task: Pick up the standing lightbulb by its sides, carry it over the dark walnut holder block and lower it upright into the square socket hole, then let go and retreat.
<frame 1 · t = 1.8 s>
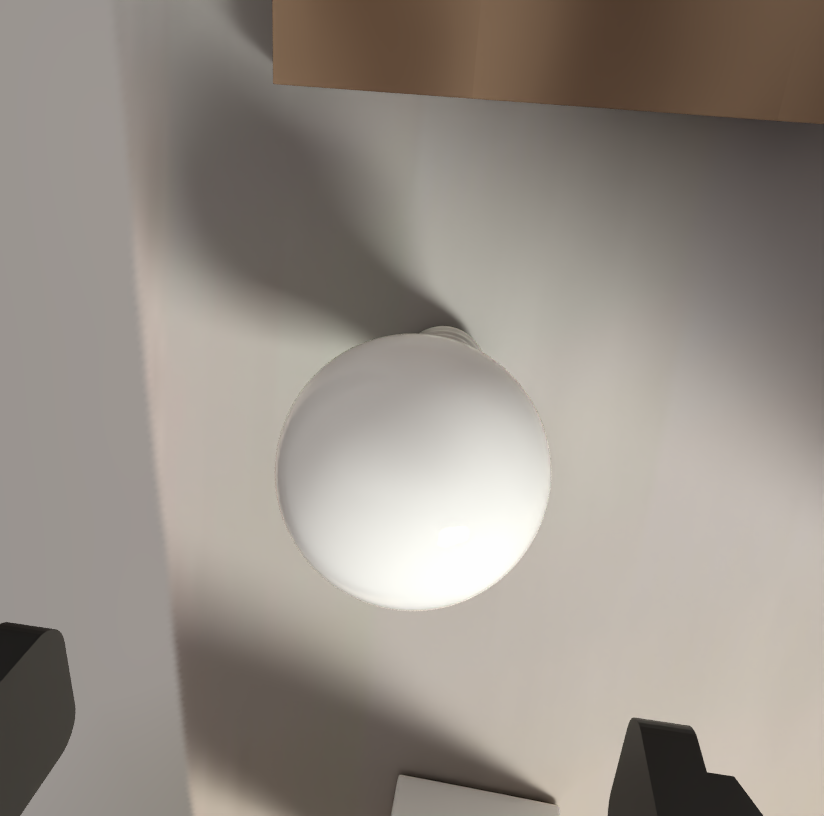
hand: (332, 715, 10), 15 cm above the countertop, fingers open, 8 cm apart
lightbulb: (446, 356, 24), on the countertop
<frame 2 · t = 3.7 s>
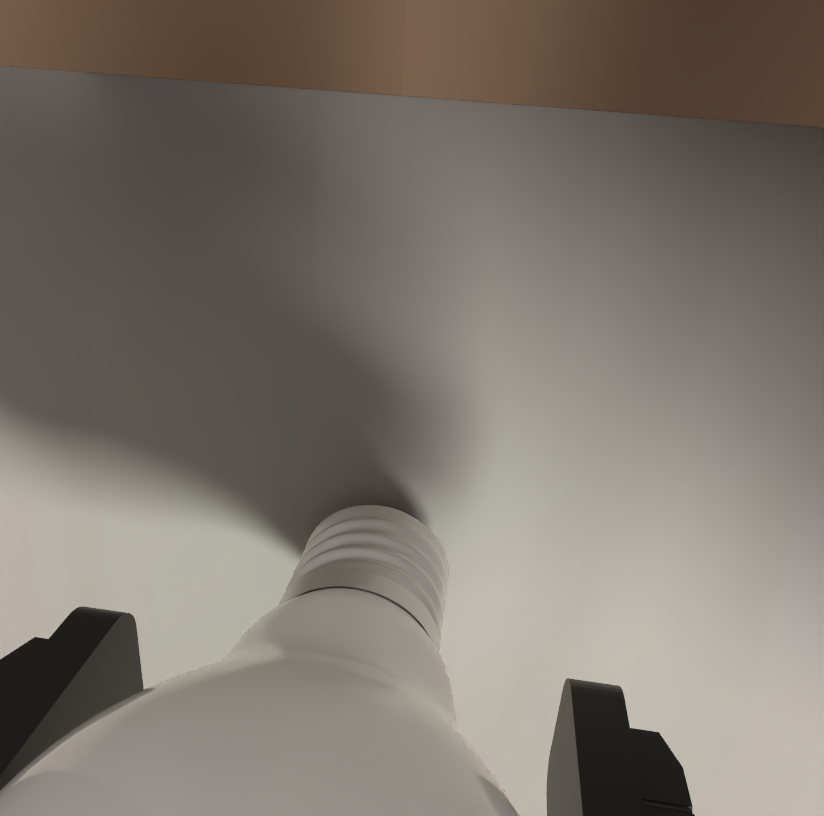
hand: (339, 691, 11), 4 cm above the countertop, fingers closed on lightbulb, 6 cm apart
lightbulb: (383, 540, 14), on the countertop, touching gripper
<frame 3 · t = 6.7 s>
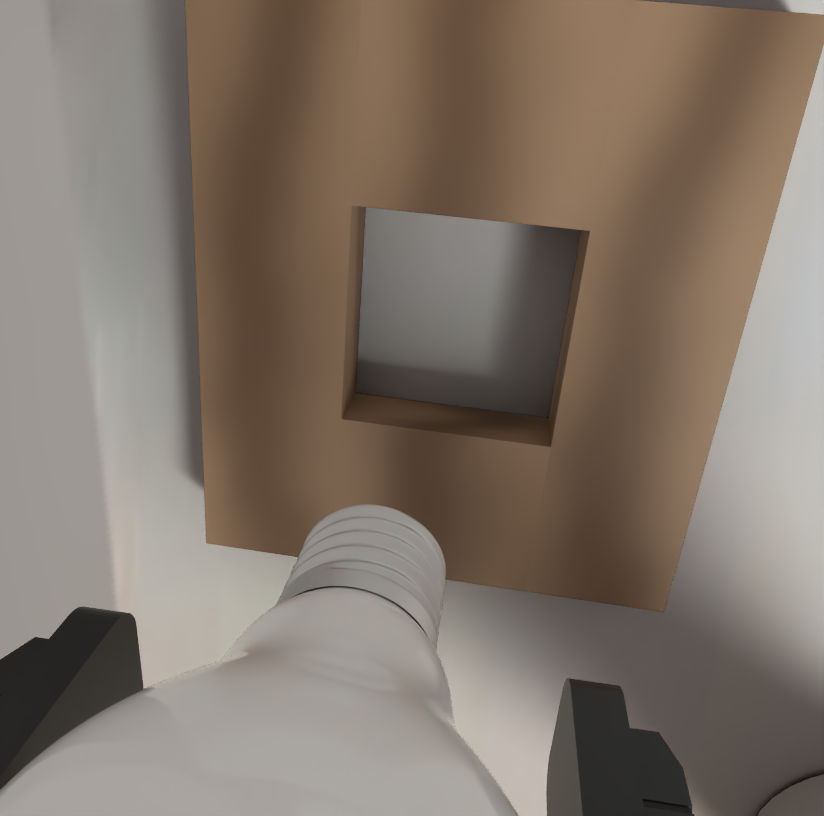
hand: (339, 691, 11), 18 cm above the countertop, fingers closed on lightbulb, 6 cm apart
lightbulb: (381, 540, 14), point 14 cm above the countertop, touching gripper
holder block: (461, 311, 26), on the countertop
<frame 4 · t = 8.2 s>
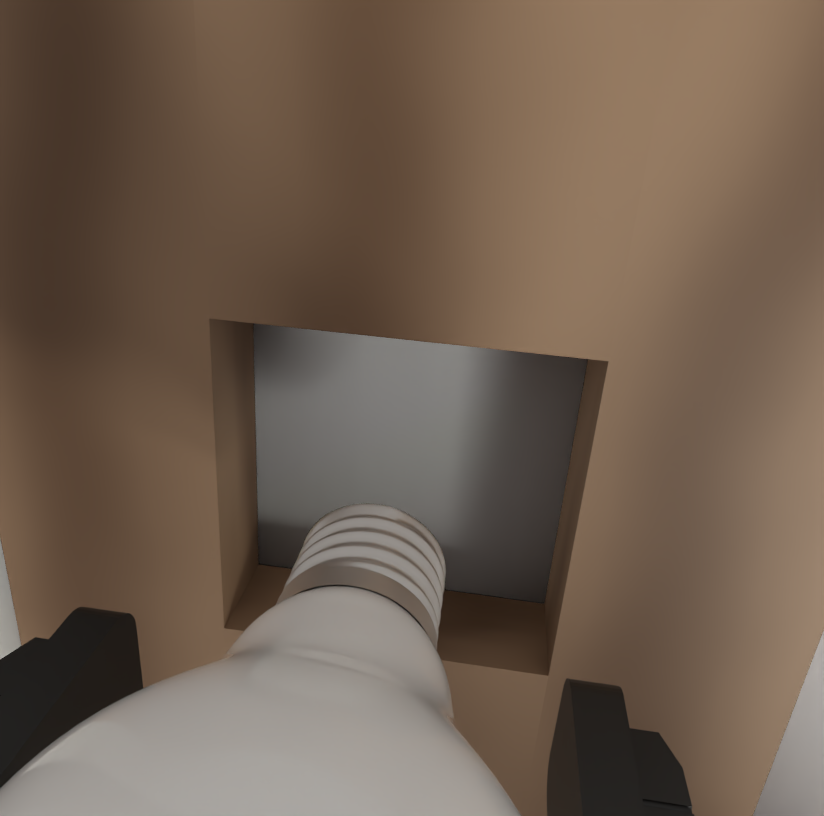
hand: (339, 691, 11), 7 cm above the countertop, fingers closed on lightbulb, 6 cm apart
lightbulb: (381, 539, 14), point 3 cm above the countertop, touching gripper
holder block: (408, 456, 17), on the countertop
when the fingers open (5 cm above the countertop, at t = 9.7 s): lightbulb stays where it is, resting in holder block.
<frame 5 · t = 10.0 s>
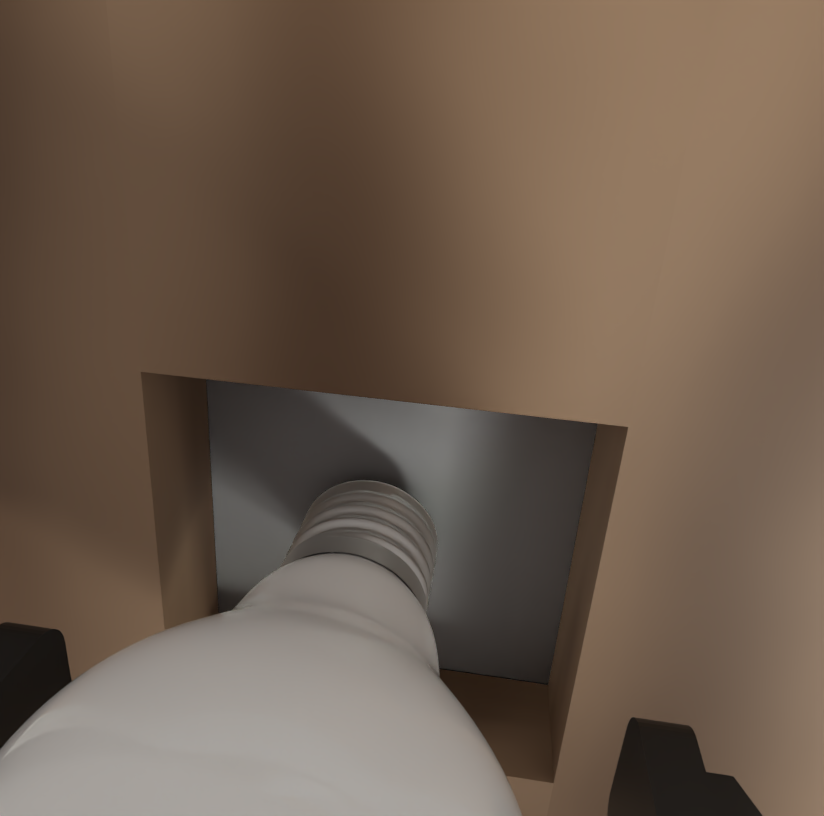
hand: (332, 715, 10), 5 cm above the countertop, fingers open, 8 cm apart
lightbulb: (378, 515, 15), resting in holder block
holder block: (389, 519, 15), on the countertop
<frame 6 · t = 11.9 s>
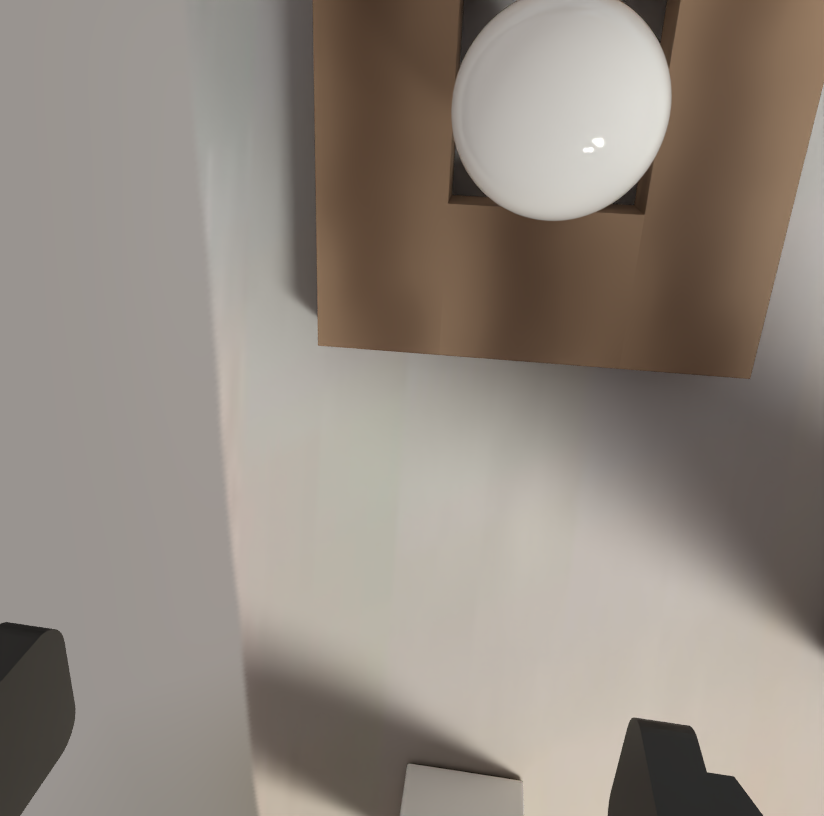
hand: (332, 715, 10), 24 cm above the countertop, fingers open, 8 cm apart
lightbulb: (545, 103, 29), resting in holder block
milk carton: (459, 805, 46), on the countertop
holder block: (552, 102, 29), on the countertop
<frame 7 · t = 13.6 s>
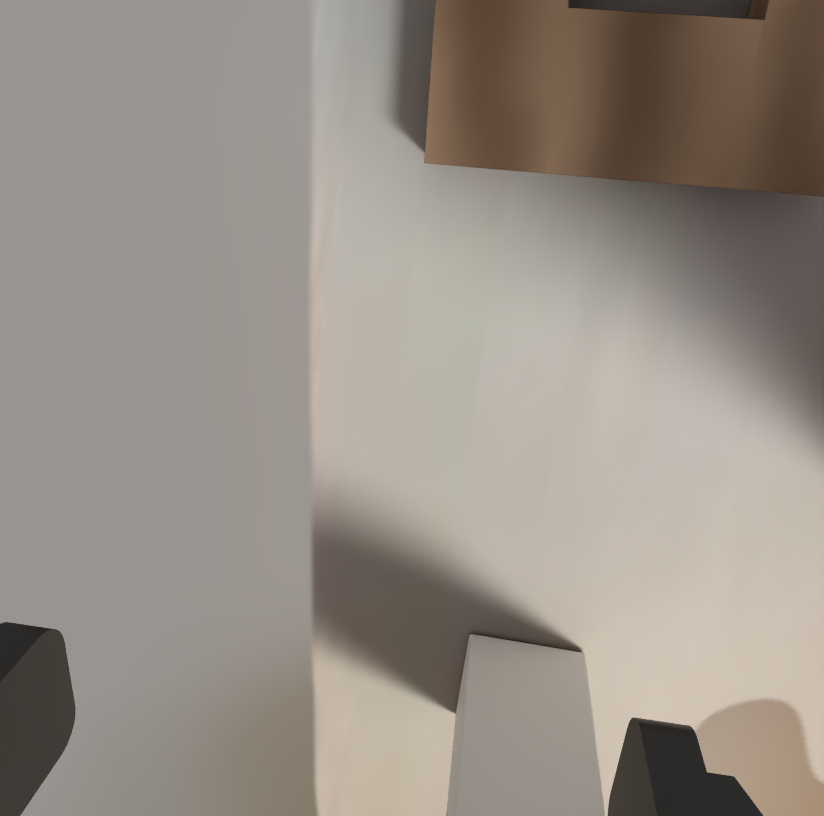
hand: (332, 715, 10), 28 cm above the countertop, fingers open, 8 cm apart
milk carton: (518, 681, 46), on the countertop
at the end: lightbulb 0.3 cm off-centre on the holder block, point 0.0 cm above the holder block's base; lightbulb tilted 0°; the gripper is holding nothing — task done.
